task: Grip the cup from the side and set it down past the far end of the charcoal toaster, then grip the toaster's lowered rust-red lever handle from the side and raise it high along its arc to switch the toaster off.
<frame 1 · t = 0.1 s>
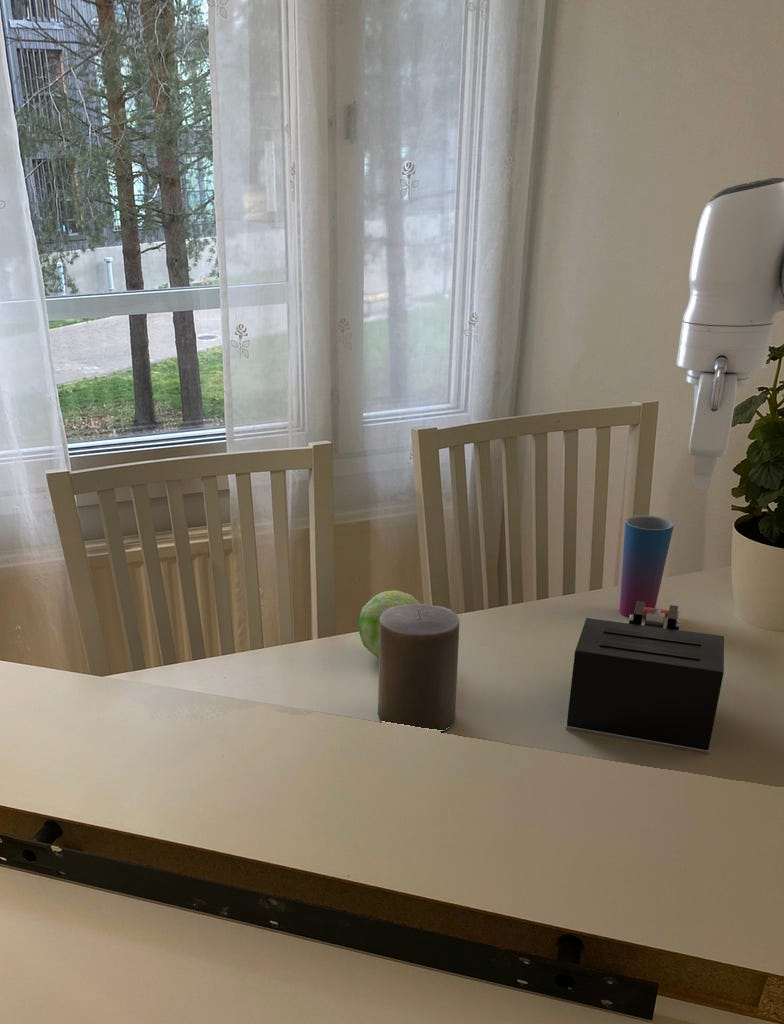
hand: (701, 477, 103), 30 cm above the table, tool pointing down, fingers open, 8 cm apart
cup: (636, 615, 142), on the table
toaster: (638, 723, 112), on the table
lever: (655, 617, 119), point 9 cm above the table, hinge at -15.0°
pillar candle: (416, 718, 115), on the table
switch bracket: (643, 692, 119), on the table
decorative ball: (392, 658, 131), on the table
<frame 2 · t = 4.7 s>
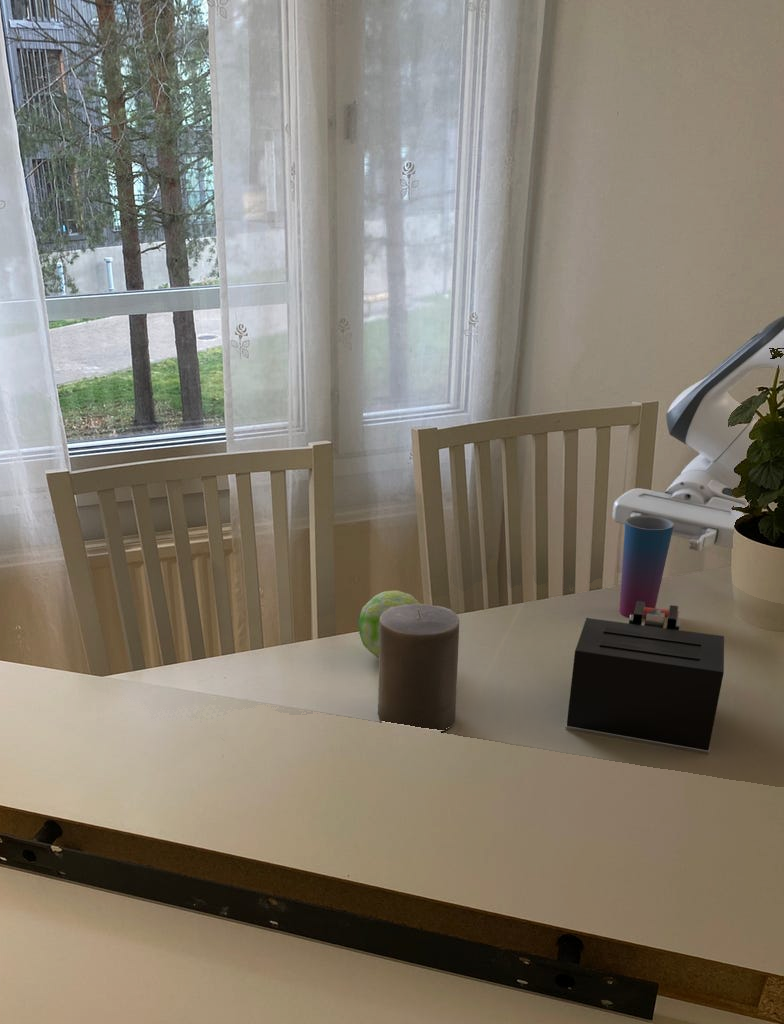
hand: (663, 539, 141), 11 cm above the table, tool horizontal, fingers open, 8 cm apart
nothing on the table moved.
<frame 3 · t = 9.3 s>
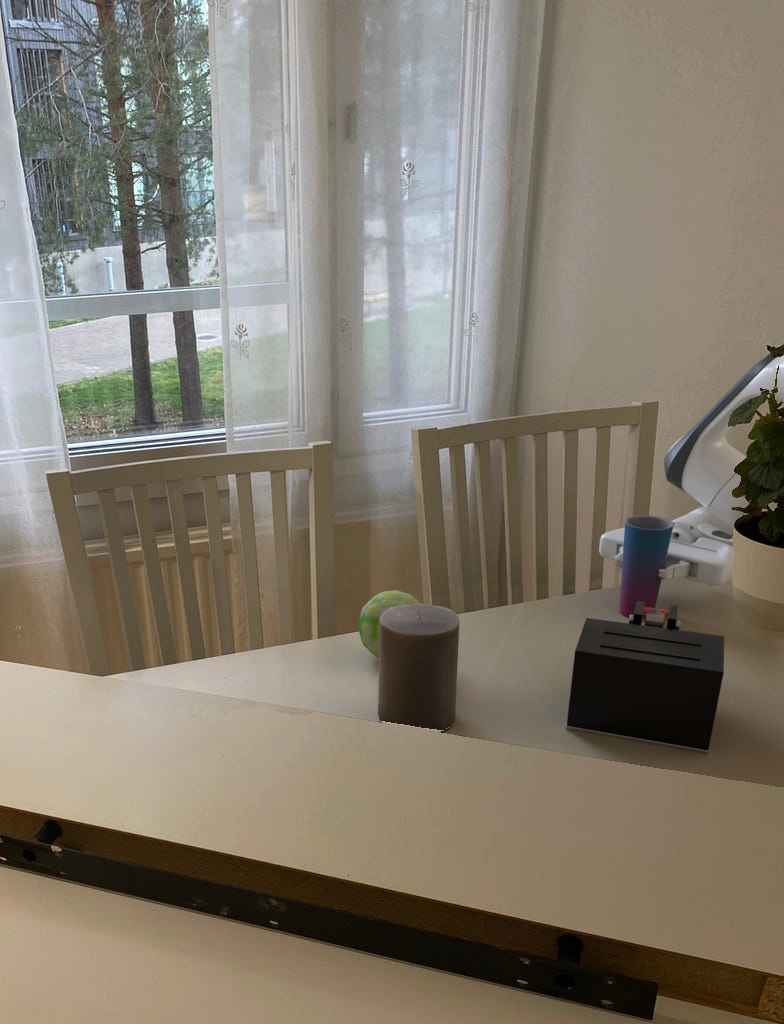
hand: (640, 568, 138), 8 cm above the table, tool horizontal, fingers closed on cup, 6 cm apart
cup: (635, 615, 142), on the table, touching gripper
everything else where it was.
when the fingers open (8 cm above the table, at t = 17.4 s): cup stays where it is, on the table.
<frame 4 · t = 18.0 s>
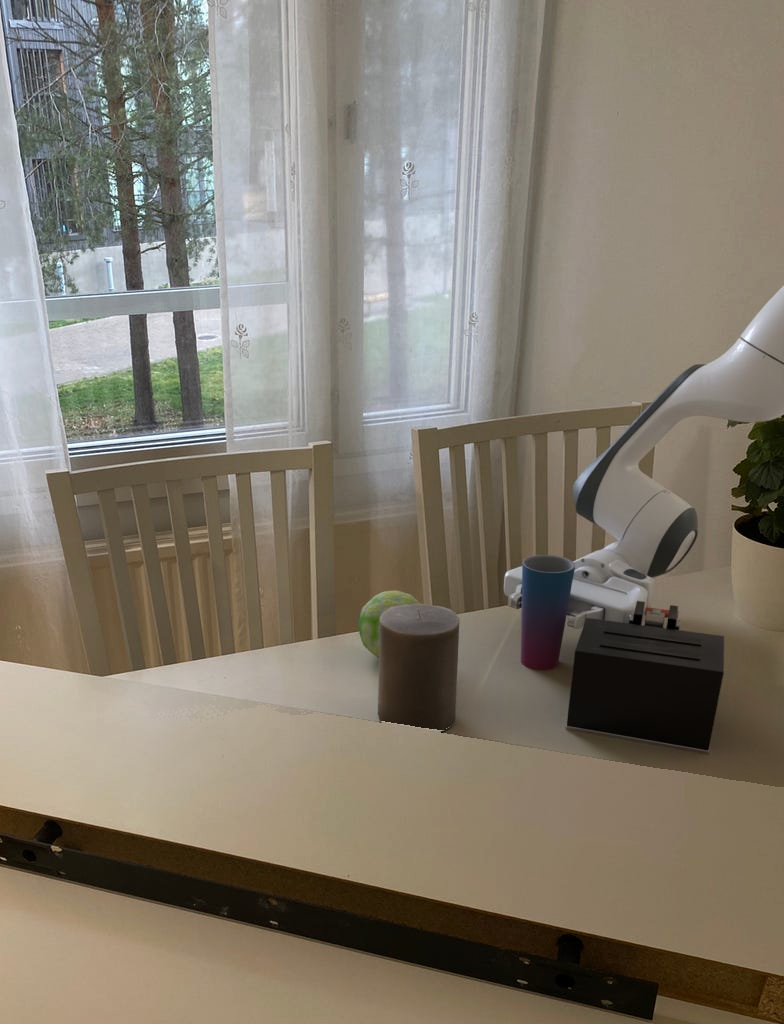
hand: (541, 612, 123), 8 cm above the table, tool horizontal, fingers open, 8 cm apart
cup: (538, 665, 127), on the table
everything else where it was.
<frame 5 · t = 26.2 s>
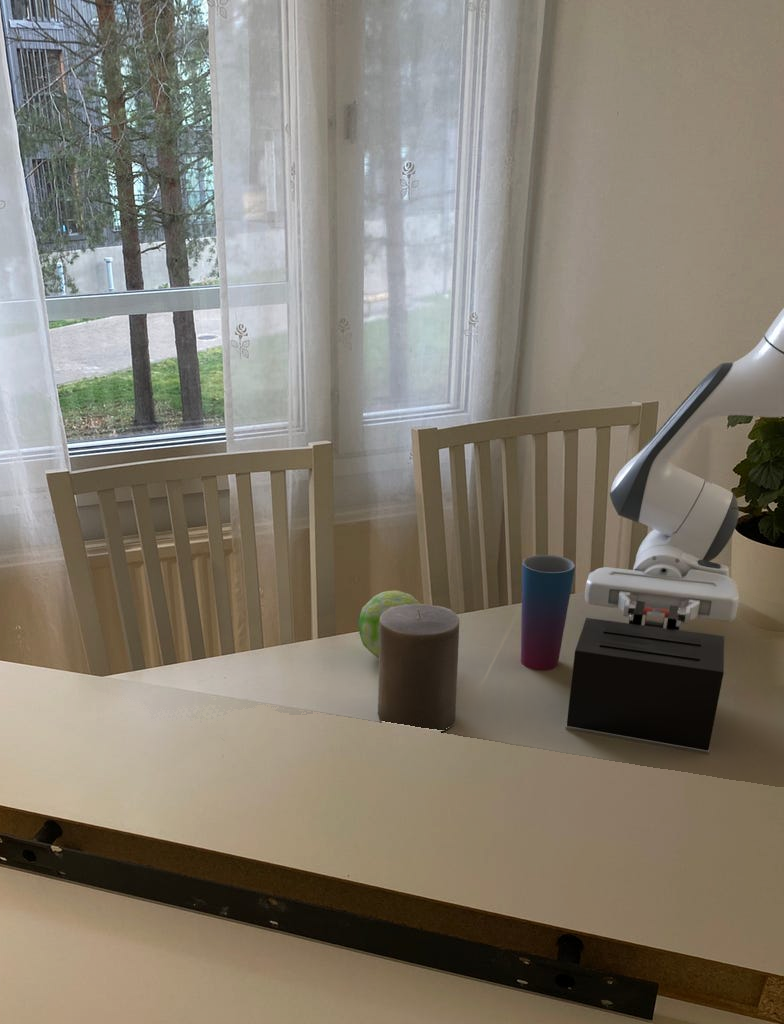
hand: (656, 615, 123), 7 cm above the table, tool horizontal, fingers closed on lever, 5 cm apart
lever: (655, 617, 119), point 9 cm above the table, hinge at -15.0°, touching gripper
everything else where it was.
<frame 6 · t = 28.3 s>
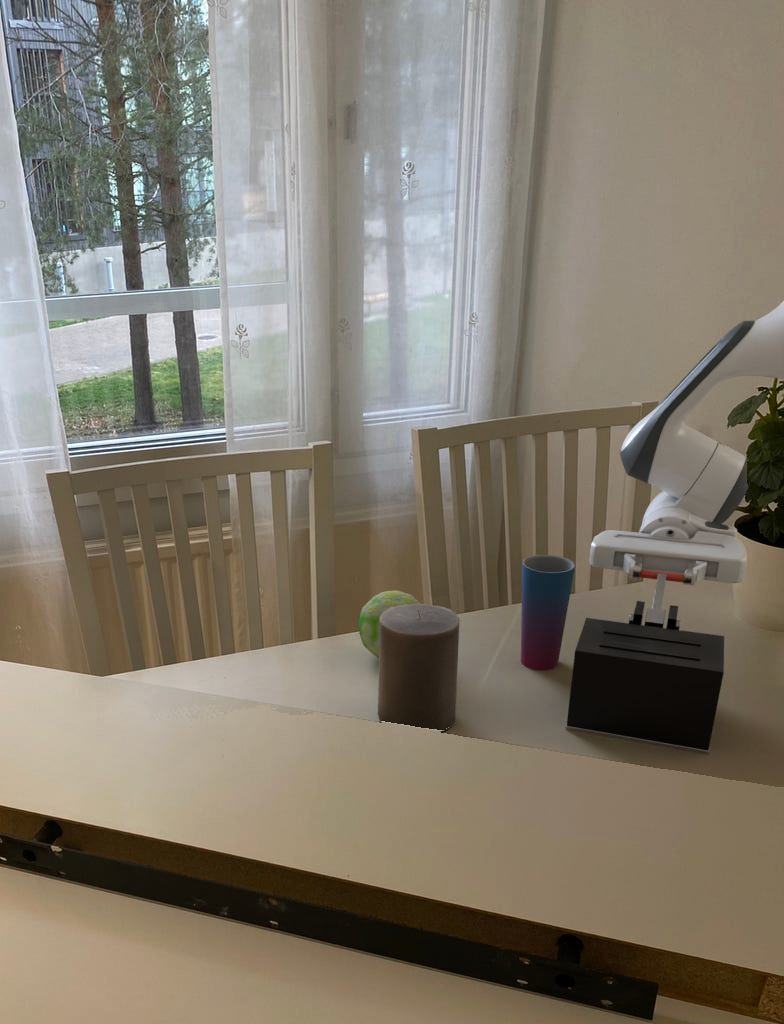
hand: (662, 576, 121), 13 cm above the table, tool horizontal, fingers closed on lever, 5 cm apart
lever: (658, 600, 118), point 11 cm above the table, hinge at 16.1°, touching gripper
everything else where it was.
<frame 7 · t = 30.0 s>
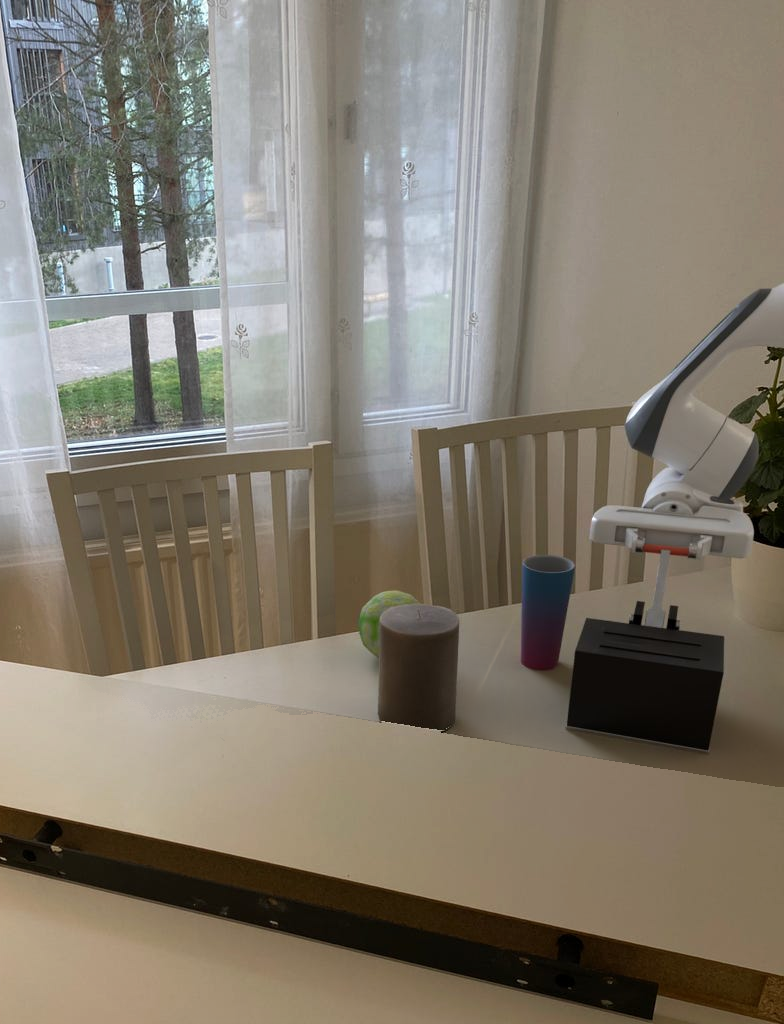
hand: (666, 550, 116), 18 cm above the table, tool horizontal, fingers closed on lever, 5 cm apart
lever: (659, 589, 116), point 13 cm above the table, hinge at 48.0°, touching gripper
everything else where it was.
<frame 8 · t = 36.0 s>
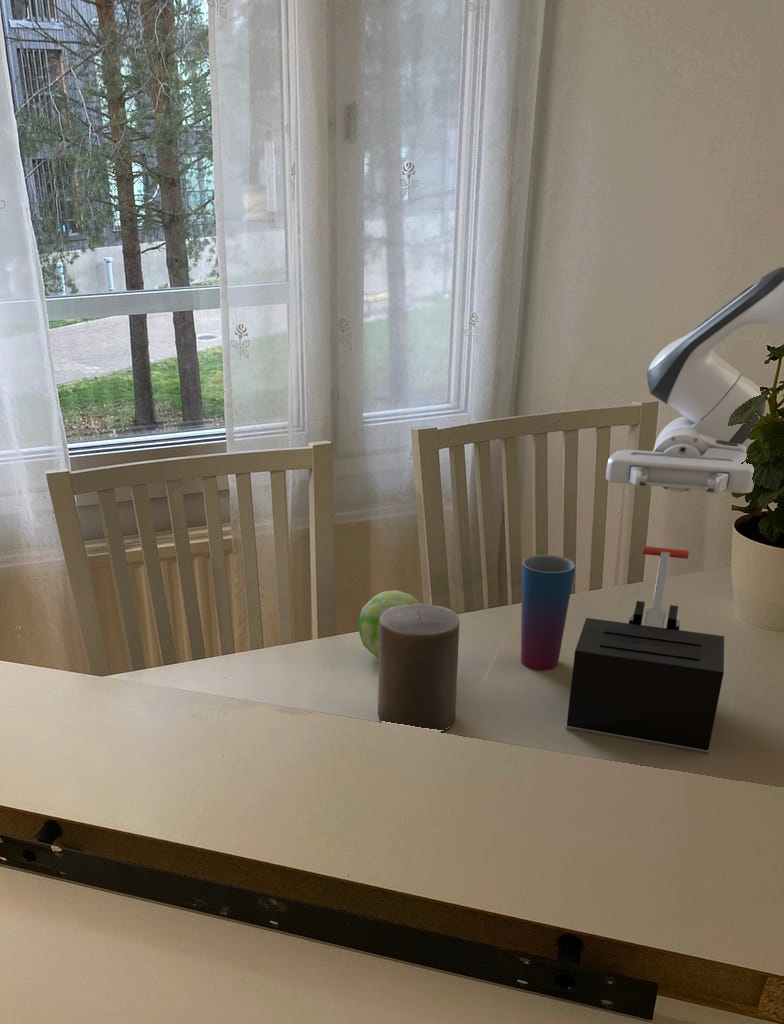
hand: (676, 485, 128), 22 cm above the table, tool horizontal, fingers open, 8 cm apart
lever: (659, 590, 116), point 13 cm above the table, hinge at 44.2°
everything else where it was.
at the end: lever at +44° (first picture: -15°); cup 0.1 cm from the target spot, on the table; cup tilted 0° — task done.
